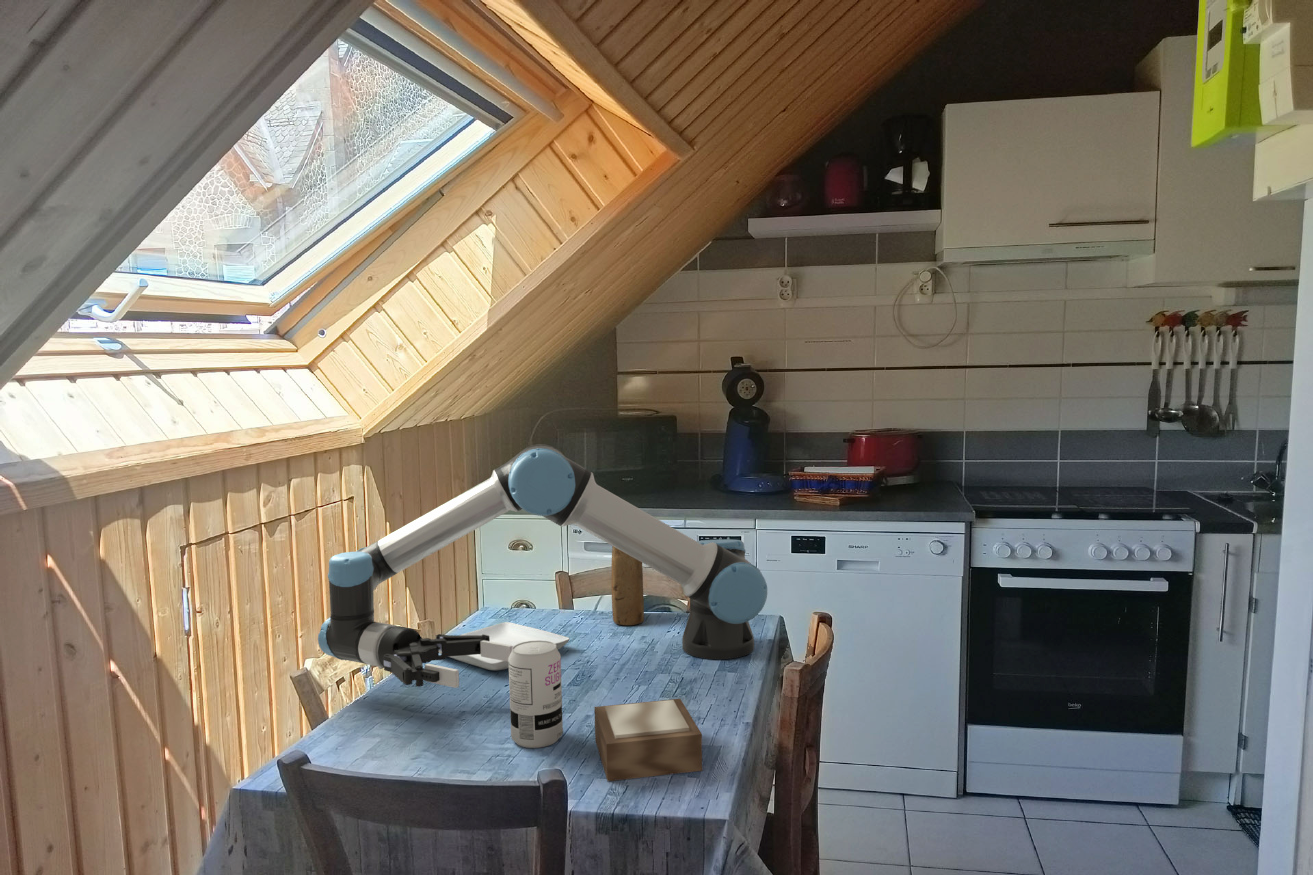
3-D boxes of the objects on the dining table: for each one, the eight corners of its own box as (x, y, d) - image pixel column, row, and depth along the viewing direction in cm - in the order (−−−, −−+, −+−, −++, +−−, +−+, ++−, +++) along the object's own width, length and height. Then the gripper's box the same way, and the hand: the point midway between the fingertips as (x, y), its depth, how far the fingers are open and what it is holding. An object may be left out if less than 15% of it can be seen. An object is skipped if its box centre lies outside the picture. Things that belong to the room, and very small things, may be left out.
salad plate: (506, 634, 194) (505, 619, 193) (572, 652, 180) (572, 636, 180) (428, 659, 177) (427, 643, 177) (494, 681, 164) (494, 663, 164)
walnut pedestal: (681, 731, 138) (680, 695, 138) (702, 770, 125) (701, 730, 124) (595, 740, 136) (594, 703, 135) (607, 781, 122) (606, 740, 121)
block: (643, 627, 196) (641, 541, 194) (611, 627, 196) (609, 541, 194) (645, 613, 207) (643, 532, 205) (614, 614, 207) (612, 532, 205)
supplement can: (512, 729, 140) (509, 640, 139) (562, 726, 141) (560, 637, 140) (509, 751, 132) (506, 656, 131) (563, 747, 133) (560, 653, 132)
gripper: (441, 647, 162) (531, 665, 152) (335, 690, 140) (432, 714, 130) (440, 609, 161) (531, 623, 151) (333, 646, 140) (431, 666, 129)
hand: (485, 665), depth 141 cm, fingers open, 13 cm apart
